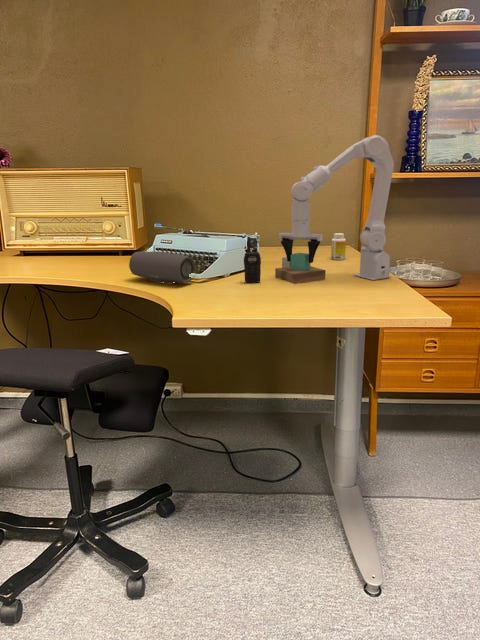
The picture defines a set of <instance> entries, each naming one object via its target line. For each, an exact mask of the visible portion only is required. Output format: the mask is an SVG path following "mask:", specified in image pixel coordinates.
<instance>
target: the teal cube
mask: <svg viewBox="0 0 480 640" xmlns="http://www.w3.org/2000/svg"><path fill="white" fill-rule="evenodd" d="M310 266H311V263H309V252H308V253H304V252H295V253H292V255H291V270H297V271H306V270H308V269H310Z"/></svg>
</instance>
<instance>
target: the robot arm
mask: <svg viewBox="0 0 480 640" xmlns="http://www.w3.org/2000/svg"><path fill="white" fill-rule="evenodd" d="M389 148H390V146H389V143H388V142H387V140H386V139H384V137H382V136H380V135H378V134H373V135H371V136H369V137H368V136H367V137H364V138H362V140H361V141H357V142H355V143H354V144H352V145H351V146H349V147H348V148H347V149H345V150H344V151H343V152H342V153H340V154H339V155H338V156H337V157H335V158H334V159H333V160H332V161H331V162H330V163H328V164H327V165H318V166H317V165H316V166H314V167H313V168H312V169H313V170H312V171H311V172H309V173H308V174H306V176H301V177H300V180H301V181H298V182H295V183H294V184H293V185H292V187H291V190H290V195H291V196H292V202H291V203H292V205H291V232H279V234H278V238H279V240H280V245H282V248H283V250H284V252H285V257H287V261H291V255H292V254H293V245H294V241H295V240H297V241H298V240H299V241H307V248H308V253H309V263H310V264H312V263H314V260H315V256H316V254H317V253H316V252H317V250H318V248H319V246H320V244H321V241H322V242H323V236H324V235H323V234H322V233H321V234H320V233H311V232H310V223H311V222H310V219H311V217H310V213H311V212H310V211H311V209H310V208H311V205H310V198H311V197H312V194H313V193H316V192H317V191H319V190H320V189H321V188H322V187H324V186H325V185H327V184H328V183H329V182H330V181H331V179H332V175H333V174H334V173H335V172H337V171H338V170H340V169H342V168H343V167H345V166H346V165H347V164H348V163H350V162H352V161H353V160H355V159H360V158H361V159H362V158H363V159H365V160H367V161H369V162H370V163H371V165H372V166H373V167H374V168H375V175H374V182H373V187H372V192H371V198H370V204H369V210H368V216H367V219H366V221H365V223H364V227H363V230H362V231H361V233H360V234H359V241H360V243H361V244H362V246H361V248H360V258H359V259H360V260H359V272H358V273H357V272H356V273H354V274H353V276H355V277H356V276H357V277H359V278H364V279H367V280H372V281H376V280H383V279H387V278H388V279H389V278H392V275H390V270H391V269H390V267H391V258H390V254H389V253H387V252H386V251H384V247H385V245H386V242H387V238H386V237H387V236H386V225H385V216H386V212H387V211H386V210H387V205H388V200H389V195H390V189H391V183H392V179H393V174H394V173H393V172H394V168H395V161H394V158H393V156H392V154H391V151H390V149H389Z"/></svg>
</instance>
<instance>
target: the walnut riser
mask: <svg viewBox="0 0 480 640" xmlns="http://www.w3.org/2000/svg"><path fill="white" fill-rule="evenodd" d="M274 269H275V270H274V271H275V273H274V275H275V276H274V277H275V278H277V279H280V280H283V281H286V282H290V283H293V284H303V283H308V282H315V281H321V280H322V281H323V280H325V279H326V272H327V271H326V269H323V268H319V267H314V266H311V265H310V269H308V270H306V271H297V270H291V266H290V267H283V268H282V267H276V268H274Z"/></svg>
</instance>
